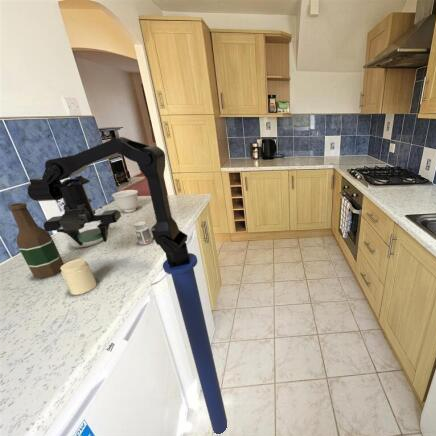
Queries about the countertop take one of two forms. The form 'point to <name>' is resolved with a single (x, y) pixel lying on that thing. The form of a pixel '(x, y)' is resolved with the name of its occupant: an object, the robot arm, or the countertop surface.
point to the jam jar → (78, 276)
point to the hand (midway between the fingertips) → (93, 243)
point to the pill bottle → (142, 233)
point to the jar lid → (89, 235)
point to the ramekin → (86, 227)
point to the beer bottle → (35, 244)
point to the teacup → (127, 200)
